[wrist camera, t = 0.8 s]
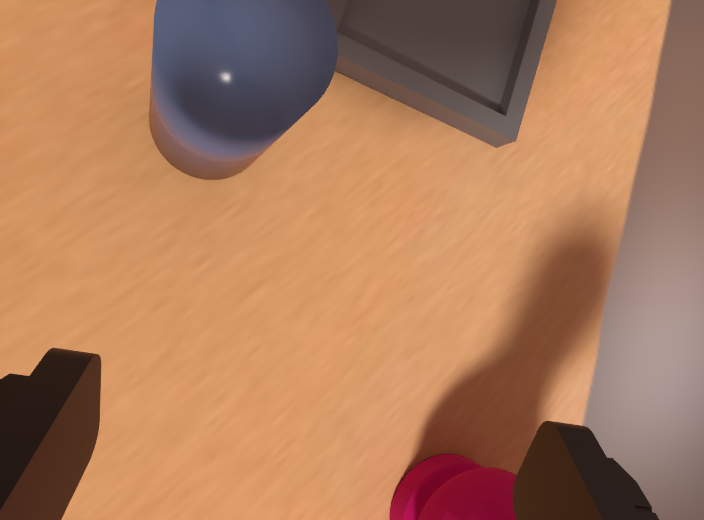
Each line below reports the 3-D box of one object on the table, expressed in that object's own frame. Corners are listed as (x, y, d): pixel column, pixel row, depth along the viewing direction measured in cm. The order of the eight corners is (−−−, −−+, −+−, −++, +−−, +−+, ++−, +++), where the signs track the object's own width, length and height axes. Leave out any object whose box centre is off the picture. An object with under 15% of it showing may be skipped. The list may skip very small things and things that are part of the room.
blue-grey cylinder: (132, 153, 26) (125, 79, 16) (172, 46, 27) (191, -93, 17) (245, 196, 28) (306, 154, 18) (280, 94, 29) (359, -4, 18)
